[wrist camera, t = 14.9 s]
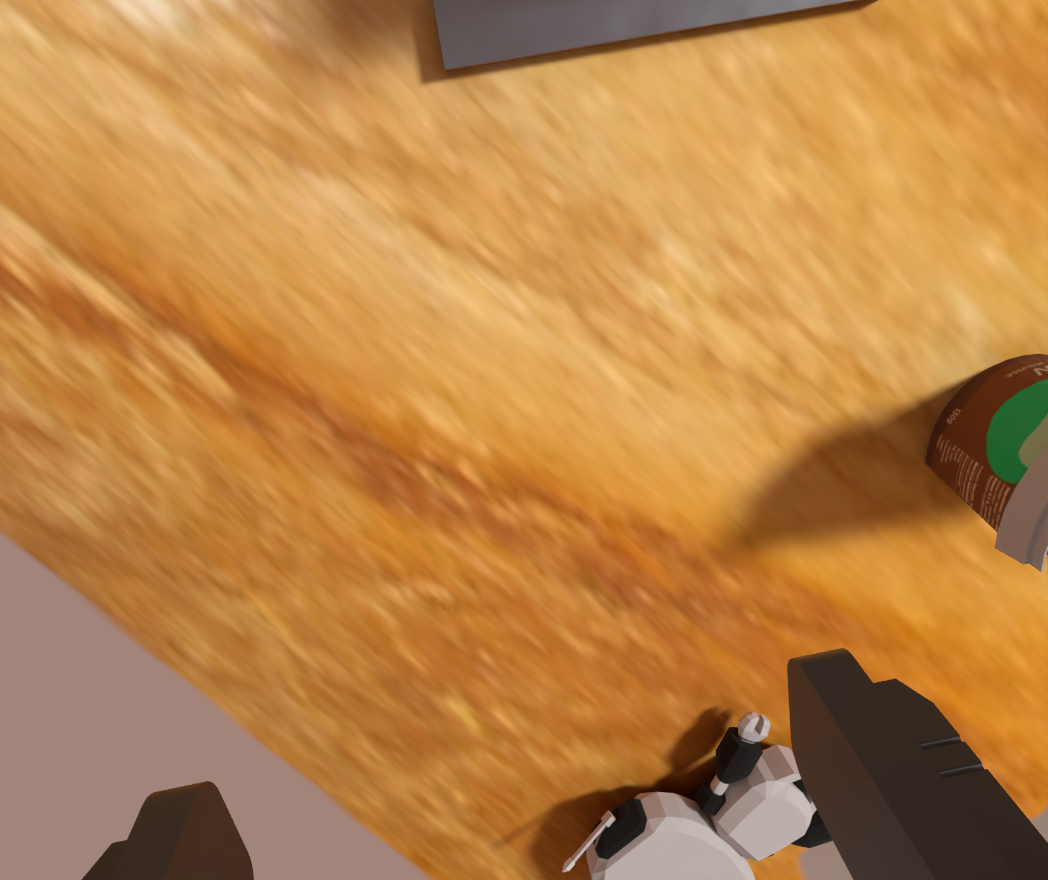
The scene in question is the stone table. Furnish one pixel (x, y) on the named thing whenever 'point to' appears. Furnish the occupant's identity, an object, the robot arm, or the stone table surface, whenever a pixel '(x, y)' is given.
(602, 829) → the robot toy
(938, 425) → the food container
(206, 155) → the stone table surface
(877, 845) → the robot arm
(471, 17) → the plate
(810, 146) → the stone table surface
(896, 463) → the stone table surface
